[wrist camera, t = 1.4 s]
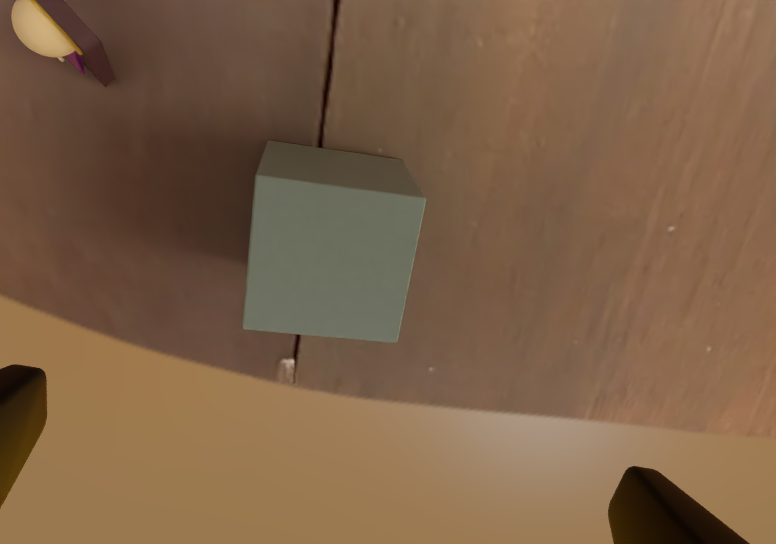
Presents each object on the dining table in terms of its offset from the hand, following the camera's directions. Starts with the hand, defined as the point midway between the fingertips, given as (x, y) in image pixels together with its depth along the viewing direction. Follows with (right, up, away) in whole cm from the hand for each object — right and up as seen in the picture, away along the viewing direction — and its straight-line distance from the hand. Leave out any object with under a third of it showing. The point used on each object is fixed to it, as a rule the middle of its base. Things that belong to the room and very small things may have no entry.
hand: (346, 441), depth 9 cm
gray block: (-1, +5, +11) cm, 12 cm away
